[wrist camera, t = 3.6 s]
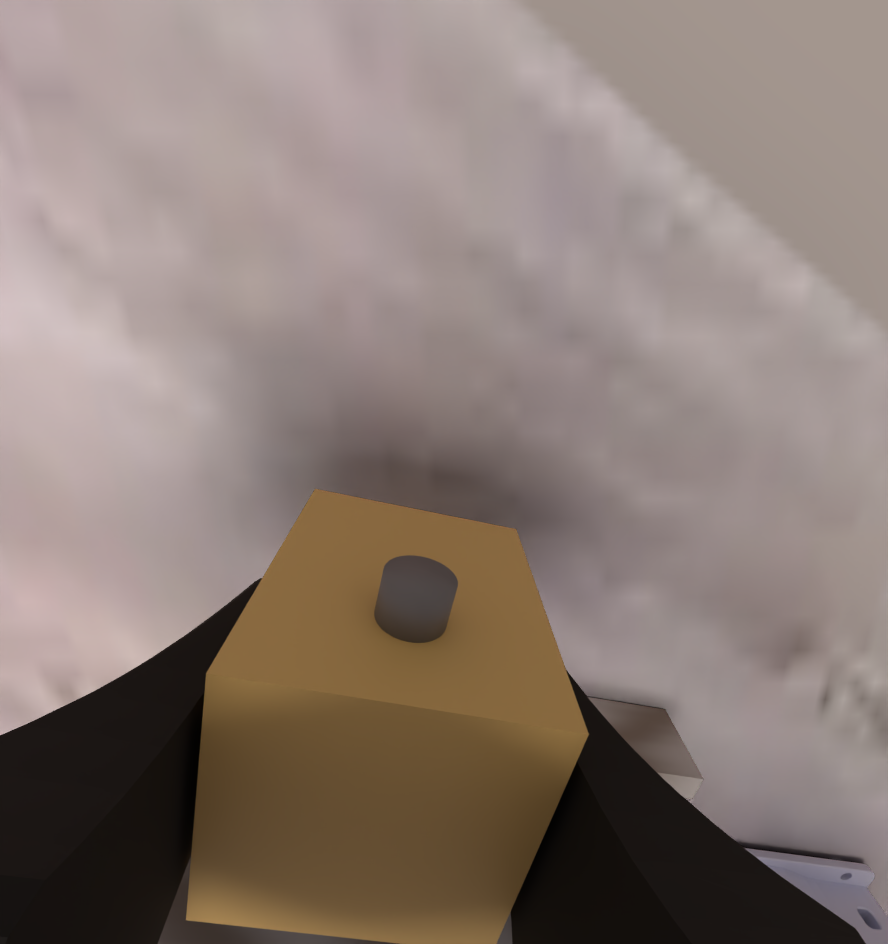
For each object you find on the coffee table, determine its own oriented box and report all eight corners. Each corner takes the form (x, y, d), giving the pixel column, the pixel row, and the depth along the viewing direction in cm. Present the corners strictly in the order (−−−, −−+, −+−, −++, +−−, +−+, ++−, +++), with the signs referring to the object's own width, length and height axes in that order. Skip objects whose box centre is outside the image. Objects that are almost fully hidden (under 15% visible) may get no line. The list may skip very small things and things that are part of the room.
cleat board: (665, 709, 20) (757, 876, 14) (585, 866, 23) (634, 1051, 18) (210, 635, 18) (110, 795, 12) (196, 818, 21) (113, 1008, 16)
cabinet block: (525, 499, 12) (609, 688, 6) (467, 683, 14) (491, 953, 8) (319, 457, 11) (210, 621, 6) (289, 654, 13) (185, 920, 8)
